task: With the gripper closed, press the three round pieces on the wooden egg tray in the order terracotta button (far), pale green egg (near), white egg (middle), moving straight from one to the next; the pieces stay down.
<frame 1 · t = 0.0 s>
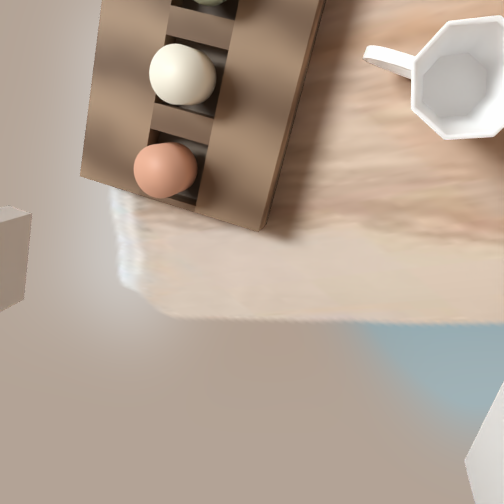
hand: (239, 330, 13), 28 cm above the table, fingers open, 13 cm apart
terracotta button: (166, 169, 37), point 4 cm above the table, slide at 0.0 cm
white egg: (183, 76, 35), point 4 cm above the table, slide at 0.0 cm
cup: (430, 80, 35), on the table
wooden egg tray: (203, 79, 39), on the table
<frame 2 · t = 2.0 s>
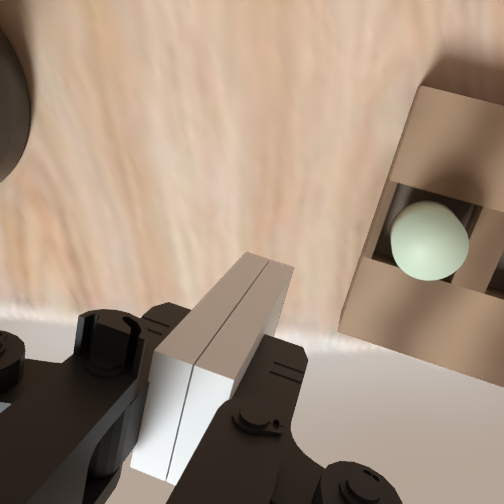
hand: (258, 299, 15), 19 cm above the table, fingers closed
pale green egg: (426, 239, 28), point 4 cm above the table, slide at 0.0 cm
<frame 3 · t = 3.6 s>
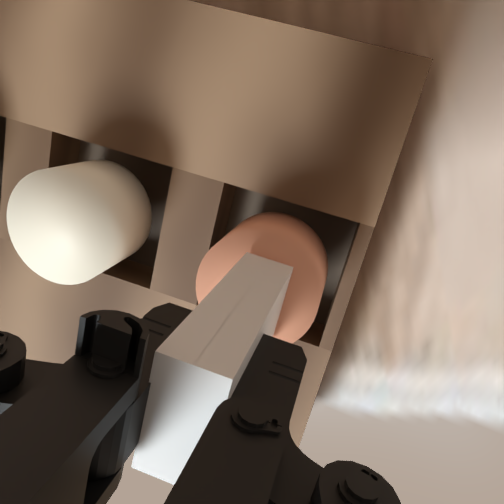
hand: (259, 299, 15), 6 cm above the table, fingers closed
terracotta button: (265, 277, 17), point 4 cm above the table, slide at 0.1 cm, touching gripper
white egg: (83, 219, 18), point 4 cm above the table, slide at 0.0 cm
wooden egg tray: (137, 198, 22), on the table
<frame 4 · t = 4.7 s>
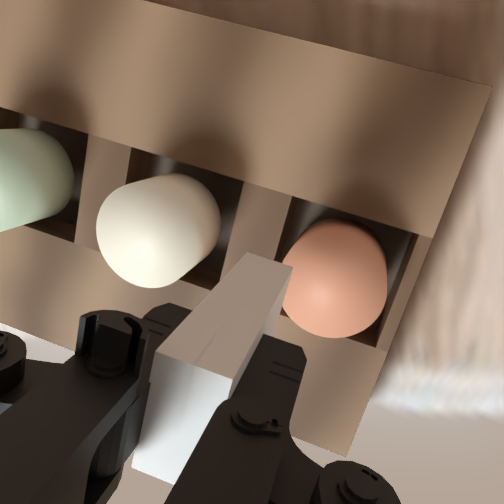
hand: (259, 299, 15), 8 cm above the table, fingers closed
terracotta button: (334, 275, 19), point 3 cm above the table, slide at 1.1 cm
white egg: (161, 227, 19), point 4 cm above the table, slide at 0.0 cm
pale green egg: (11, 178, 20), point 4 cm above the table, slide at 0.0 cm
wooden egg tray: (199, 208, 23), on the table
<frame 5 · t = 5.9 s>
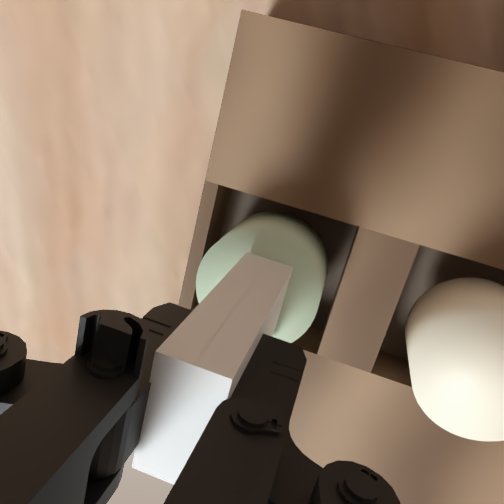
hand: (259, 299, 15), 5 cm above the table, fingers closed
white egg: (475, 354, 15), point 4 cm above the table, slide at 0.0 cm
pale green egg: (265, 276, 17), point 4 cm above the table, slide at 0.7 cm
wooden egg tray: (454, 302, 19), on the table
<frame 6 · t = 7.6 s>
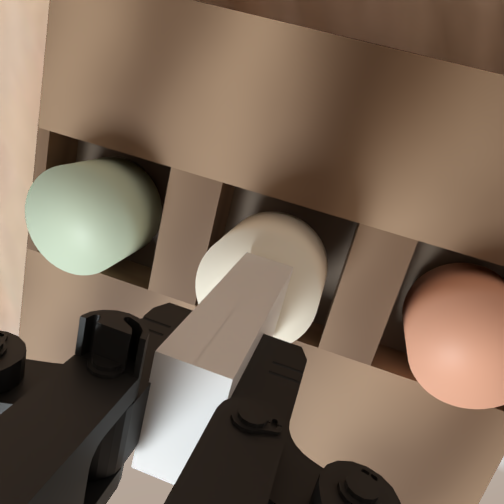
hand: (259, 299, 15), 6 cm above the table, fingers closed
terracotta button: (466, 332, 16), point 3 cm above the table, slide at 1.1 cm
white egg: (265, 277, 17), point 4 cm above the table, slide at 0.2 cm, touching gripper
pale green egg: (97, 213, 19), point 3 cm above the table, slide at 1.1 cm
wooden egg tray: (285, 245, 20), on the table
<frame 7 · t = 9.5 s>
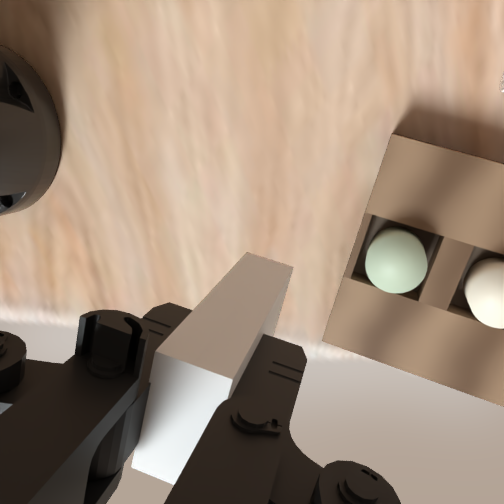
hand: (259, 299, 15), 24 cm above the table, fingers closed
white egg: (498, 292, 33), point 3 cm above the table, slide at 1.1 cm
pale green egg: (395, 259, 34), point 3 cm above the table, slide at 1.1 cm
wooden egg tray: (489, 277, 36), on the table
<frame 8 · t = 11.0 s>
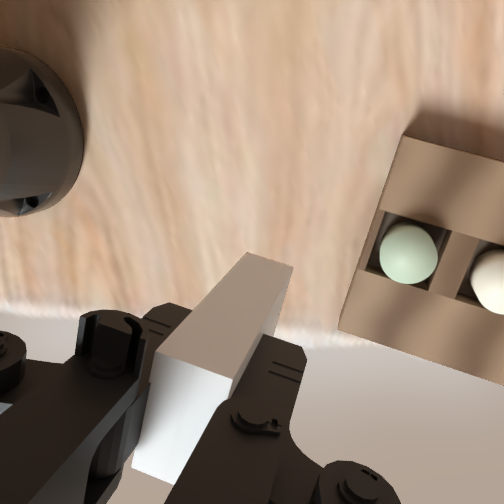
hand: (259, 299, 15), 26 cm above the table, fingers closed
white egg: (501, 281, 35), point 3 cm above the table, slide at 1.1 cm
pale green egg: (407, 252, 36), point 3 cm above the table, slide at 1.1 cm
wooden egg tray: (492, 267, 38), on the table
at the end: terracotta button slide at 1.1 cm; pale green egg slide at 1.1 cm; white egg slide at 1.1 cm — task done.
